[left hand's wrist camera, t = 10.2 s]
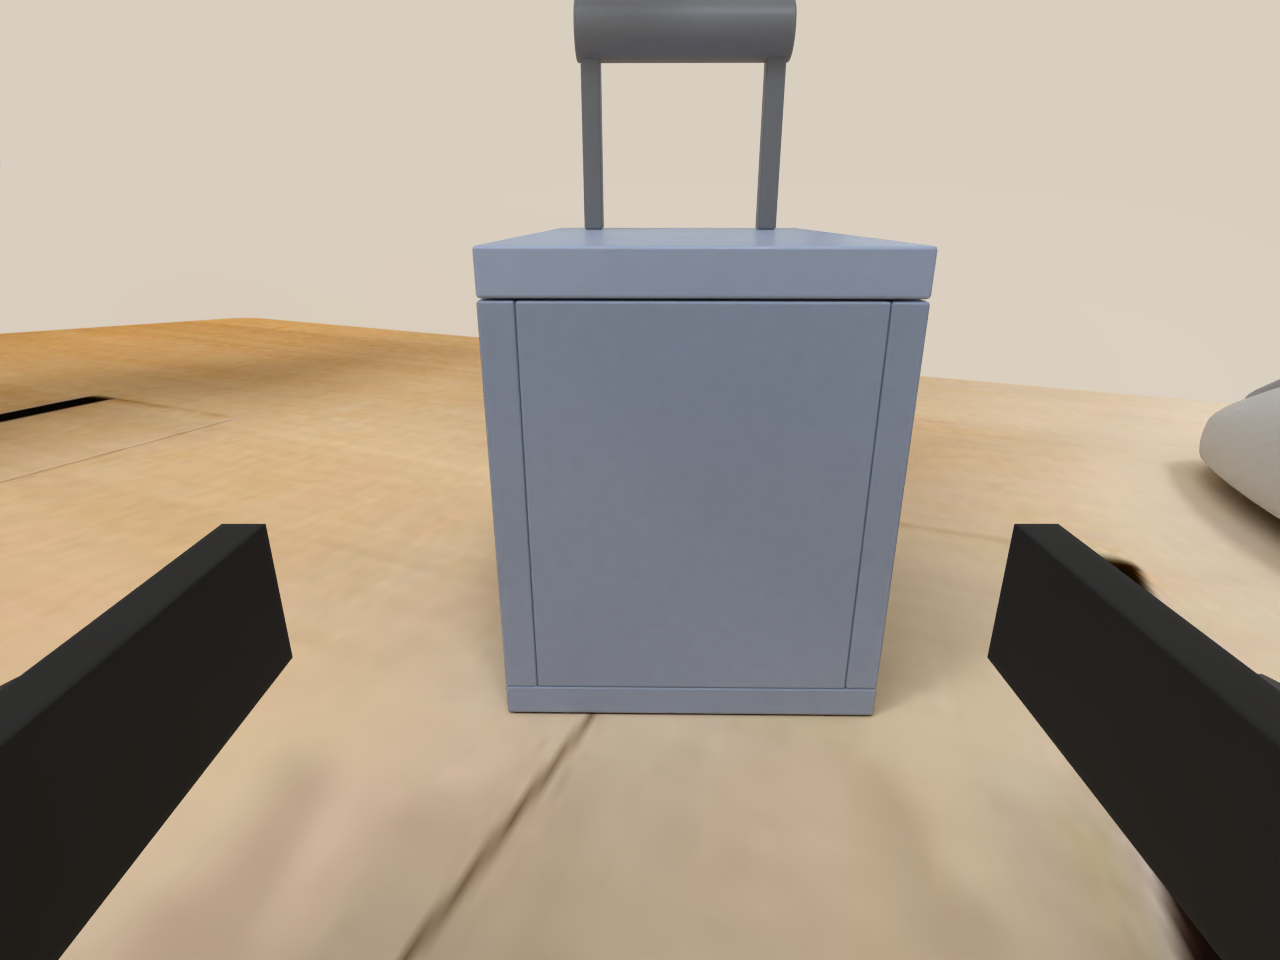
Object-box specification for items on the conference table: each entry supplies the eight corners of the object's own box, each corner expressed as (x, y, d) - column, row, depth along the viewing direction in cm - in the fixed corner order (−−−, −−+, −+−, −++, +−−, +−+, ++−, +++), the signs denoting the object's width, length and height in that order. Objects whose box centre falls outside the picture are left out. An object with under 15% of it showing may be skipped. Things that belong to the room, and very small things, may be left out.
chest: (567, 500, 34) (558, 257, 30) (778, 501, 34) (797, 257, 30) (507, 712, 20) (475, 301, 16) (873, 716, 20) (931, 302, 16)
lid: (560, 255, 31) (551, 15, 28) (794, 255, 31) (811, 14, 28) (475, 298, 16) (435, -214, 13) (931, 299, 16) (1004, -219, 13)
